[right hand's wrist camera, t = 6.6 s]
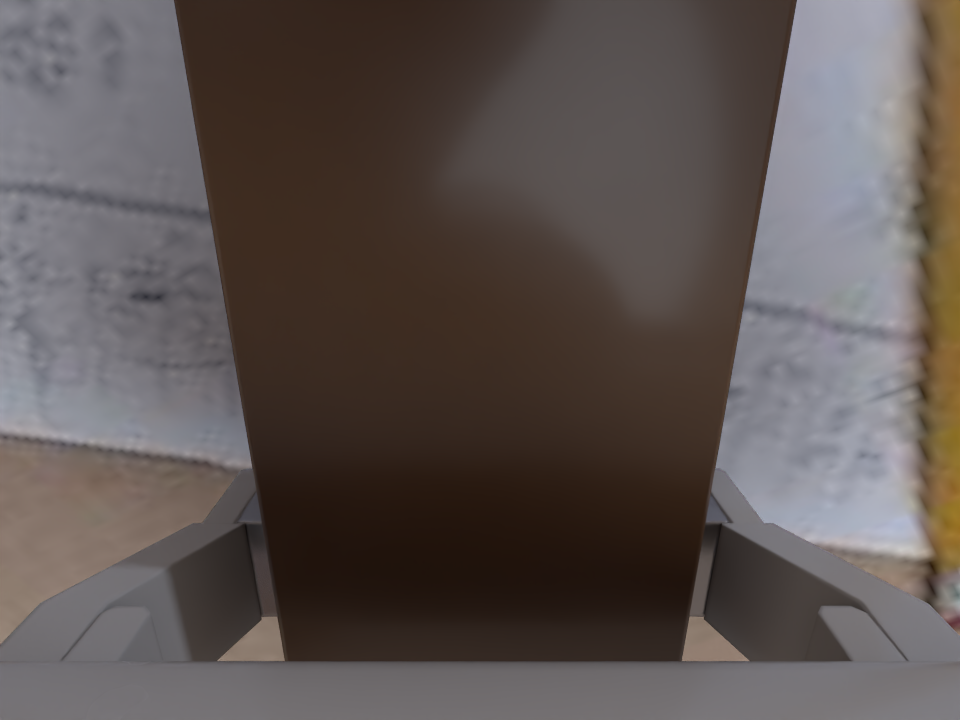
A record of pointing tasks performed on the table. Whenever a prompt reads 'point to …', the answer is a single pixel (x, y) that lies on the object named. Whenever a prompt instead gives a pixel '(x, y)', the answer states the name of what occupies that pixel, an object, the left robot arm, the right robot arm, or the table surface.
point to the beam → (484, 306)
